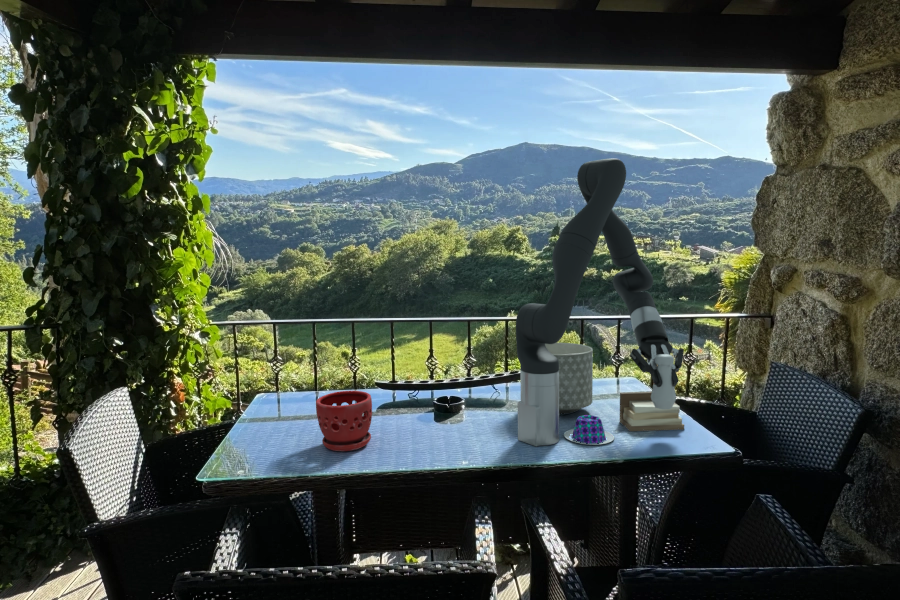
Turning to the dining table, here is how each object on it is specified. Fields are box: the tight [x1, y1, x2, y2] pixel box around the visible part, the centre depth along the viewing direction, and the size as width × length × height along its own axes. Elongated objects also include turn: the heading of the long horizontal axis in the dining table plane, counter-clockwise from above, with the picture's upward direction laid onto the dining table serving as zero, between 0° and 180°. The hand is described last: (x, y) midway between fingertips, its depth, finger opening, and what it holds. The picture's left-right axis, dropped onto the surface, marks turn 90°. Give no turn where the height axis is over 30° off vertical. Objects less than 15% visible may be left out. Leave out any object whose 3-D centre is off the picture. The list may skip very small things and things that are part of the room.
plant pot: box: [315, 390, 373, 452], centre depth 133 cm, size 13×13×12 cm
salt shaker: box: [651, 354, 677, 409], centre depth 135 cm, size 6×6×13 cm
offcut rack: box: [619, 391, 685, 432], centre depth 143 cm, size 8×14×8 cm, turn 92°
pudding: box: [563, 414, 615, 446], centre depth 135 cm, size 12×12×5 cm
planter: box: [545, 342, 594, 416], centre depth 158 cm, size 19×19×18 cm
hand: (667, 385), depth 133 cm, fingers closed on salt shaker, 3 cm apart
